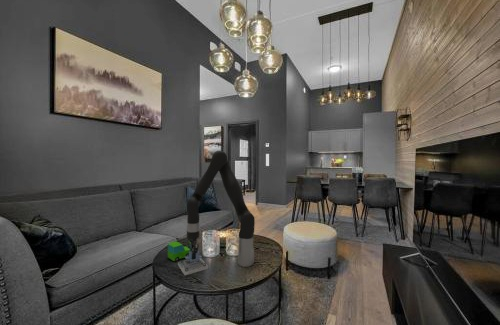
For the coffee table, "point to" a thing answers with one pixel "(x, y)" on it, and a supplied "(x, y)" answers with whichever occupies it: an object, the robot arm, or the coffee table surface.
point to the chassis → (192, 266)
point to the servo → (191, 256)
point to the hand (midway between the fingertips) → (192, 257)
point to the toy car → (177, 251)
